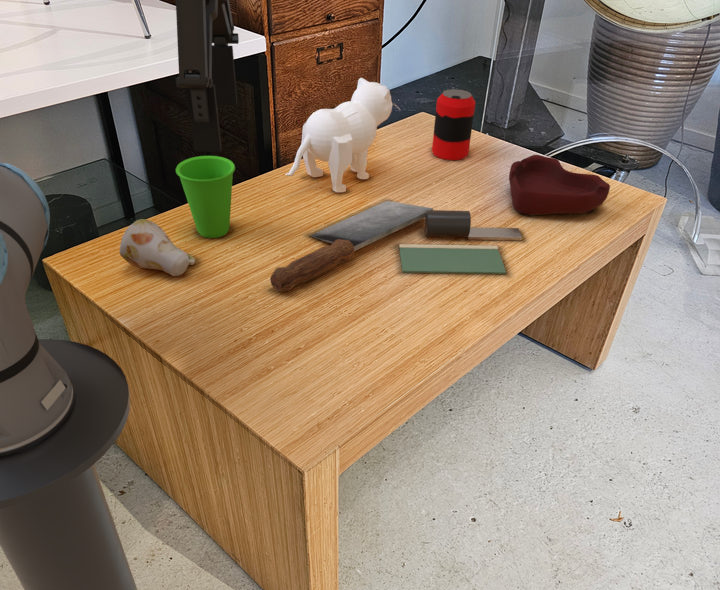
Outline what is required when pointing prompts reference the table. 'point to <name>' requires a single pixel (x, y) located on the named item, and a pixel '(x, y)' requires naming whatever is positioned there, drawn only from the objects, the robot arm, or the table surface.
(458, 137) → the soda can
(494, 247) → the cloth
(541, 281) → the table surface
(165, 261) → the pale spotted pear
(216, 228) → the cup
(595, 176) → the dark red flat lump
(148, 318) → the table surface
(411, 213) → the meat cleaver
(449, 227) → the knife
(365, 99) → the cat figurine
